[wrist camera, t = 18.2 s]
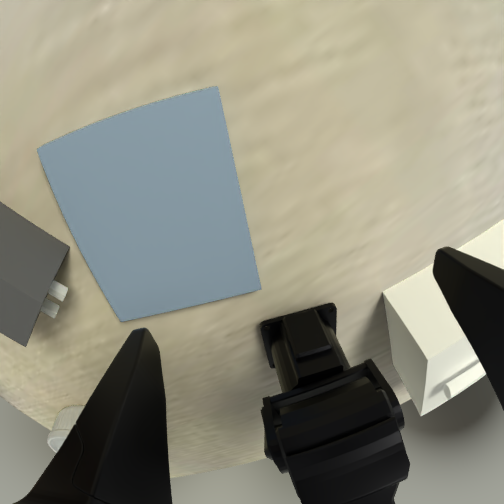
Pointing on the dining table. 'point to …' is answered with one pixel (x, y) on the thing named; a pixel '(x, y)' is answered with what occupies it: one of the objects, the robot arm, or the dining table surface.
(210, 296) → the pad
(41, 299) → the charcoal wedge block
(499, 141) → the dining table surface
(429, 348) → the tissue box
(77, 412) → the ramekin
